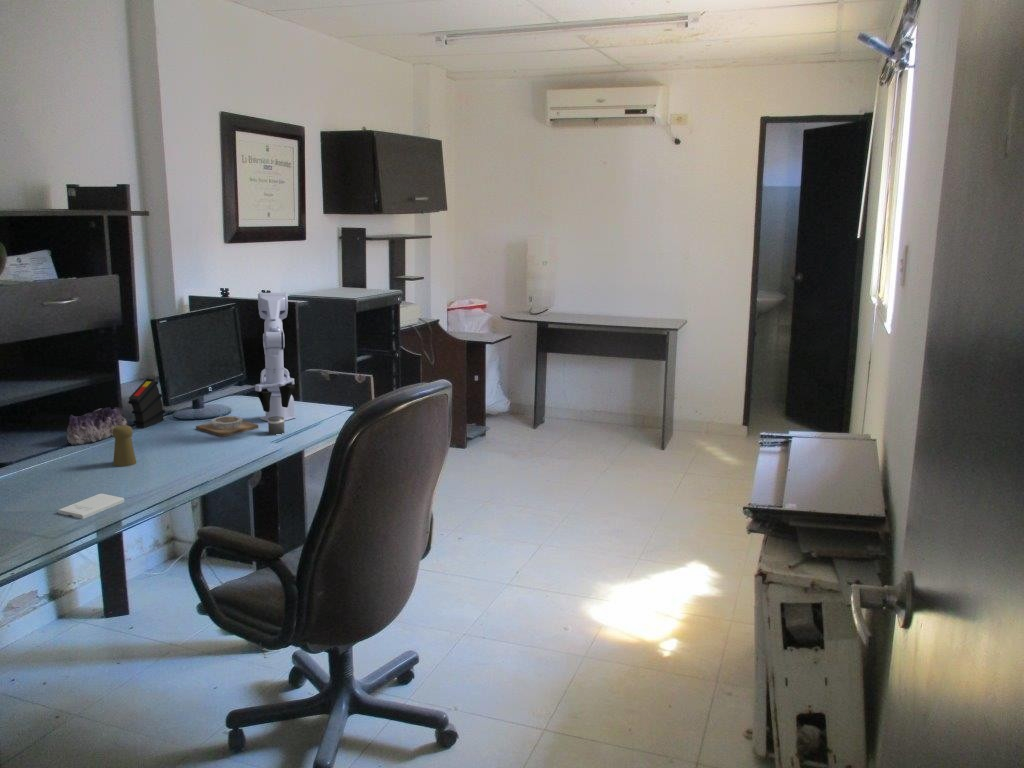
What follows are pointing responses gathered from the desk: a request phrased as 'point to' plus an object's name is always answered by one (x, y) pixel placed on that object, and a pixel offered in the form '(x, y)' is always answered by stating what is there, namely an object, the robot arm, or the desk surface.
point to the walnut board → (223, 433)
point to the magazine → (147, 404)
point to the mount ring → (227, 422)
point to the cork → (123, 446)
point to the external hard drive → (91, 506)
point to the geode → (94, 425)
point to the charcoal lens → (276, 425)
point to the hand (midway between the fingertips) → (275, 409)
